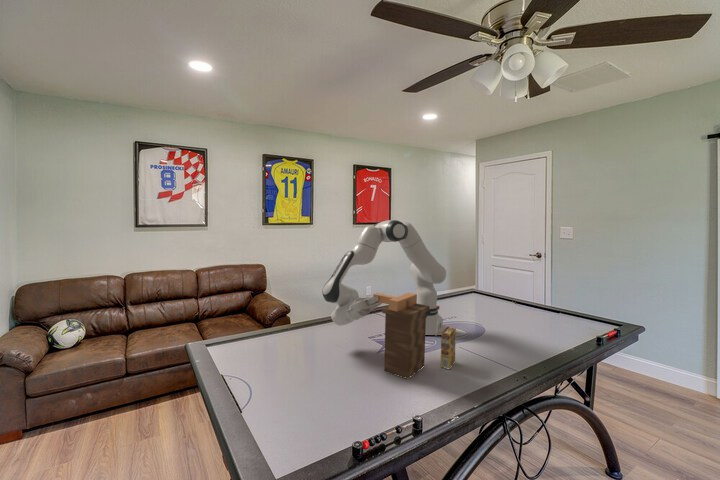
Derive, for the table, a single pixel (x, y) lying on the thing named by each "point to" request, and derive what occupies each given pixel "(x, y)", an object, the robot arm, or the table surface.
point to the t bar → (397, 300)
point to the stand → (405, 339)
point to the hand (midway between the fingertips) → (381, 297)
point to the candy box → (448, 347)
